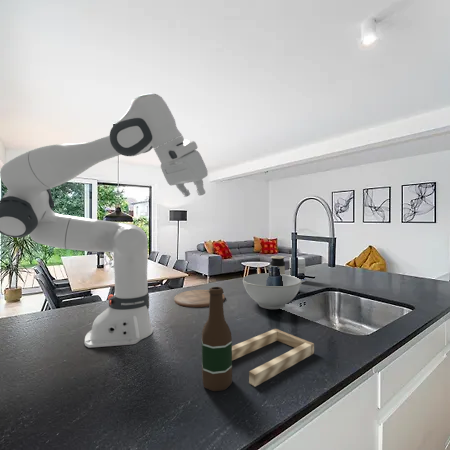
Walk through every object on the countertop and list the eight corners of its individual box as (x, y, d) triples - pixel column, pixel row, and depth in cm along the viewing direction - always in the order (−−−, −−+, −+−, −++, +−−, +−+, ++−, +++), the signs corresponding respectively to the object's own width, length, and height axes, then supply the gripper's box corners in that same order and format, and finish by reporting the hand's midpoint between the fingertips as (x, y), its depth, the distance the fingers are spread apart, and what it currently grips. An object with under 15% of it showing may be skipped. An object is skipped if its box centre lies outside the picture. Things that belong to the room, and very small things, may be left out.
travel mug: (286, 290, 157) (286, 257, 156) (271, 290, 157) (271, 257, 157) (283, 286, 165) (283, 255, 164) (269, 286, 165) (269, 255, 165)
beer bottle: (229, 394, 66) (228, 293, 65) (197, 390, 68) (196, 291, 67) (234, 375, 74) (234, 284, 73) (206, 372, 76) (205, 283, 75)
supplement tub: (308, 281, 177) (308, 257, 177) (300, 283, 171) (300, 259, 170) (294, 278, 184) (294, 256, 184) (286, 281, 178) (286, 258, 177)
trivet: (233, 303, 136) (233, 299, 136) (183, 311, 125) (183, 307, 125) (212, 290, 158) (212, 287, 158) (168, 297, 147) (168, 293, 147)
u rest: (255, 386, 69) (254, 374, 69) (217, 362, 81) (216, 352, 80) (313, 353, 85) (313, 343, 85) (275, 337, 97) (275, 328, 97)
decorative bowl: (257, 294, 150) (257, 271, 150) (308, 301, 136) (308, 276, 136) (232, 308, 127) (232, 281, 127) (290, 319, 113) (290, 289, 113)
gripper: (150, 161, 87) (171, 201, 92) (179, 150, 70) (203, 199, 75) (167, 153, 90) (187, 192, 95) (198, 140, 73) (220, 188, 78)
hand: (194, 195), depth 85 cm, fingers open, 8 cm apart
